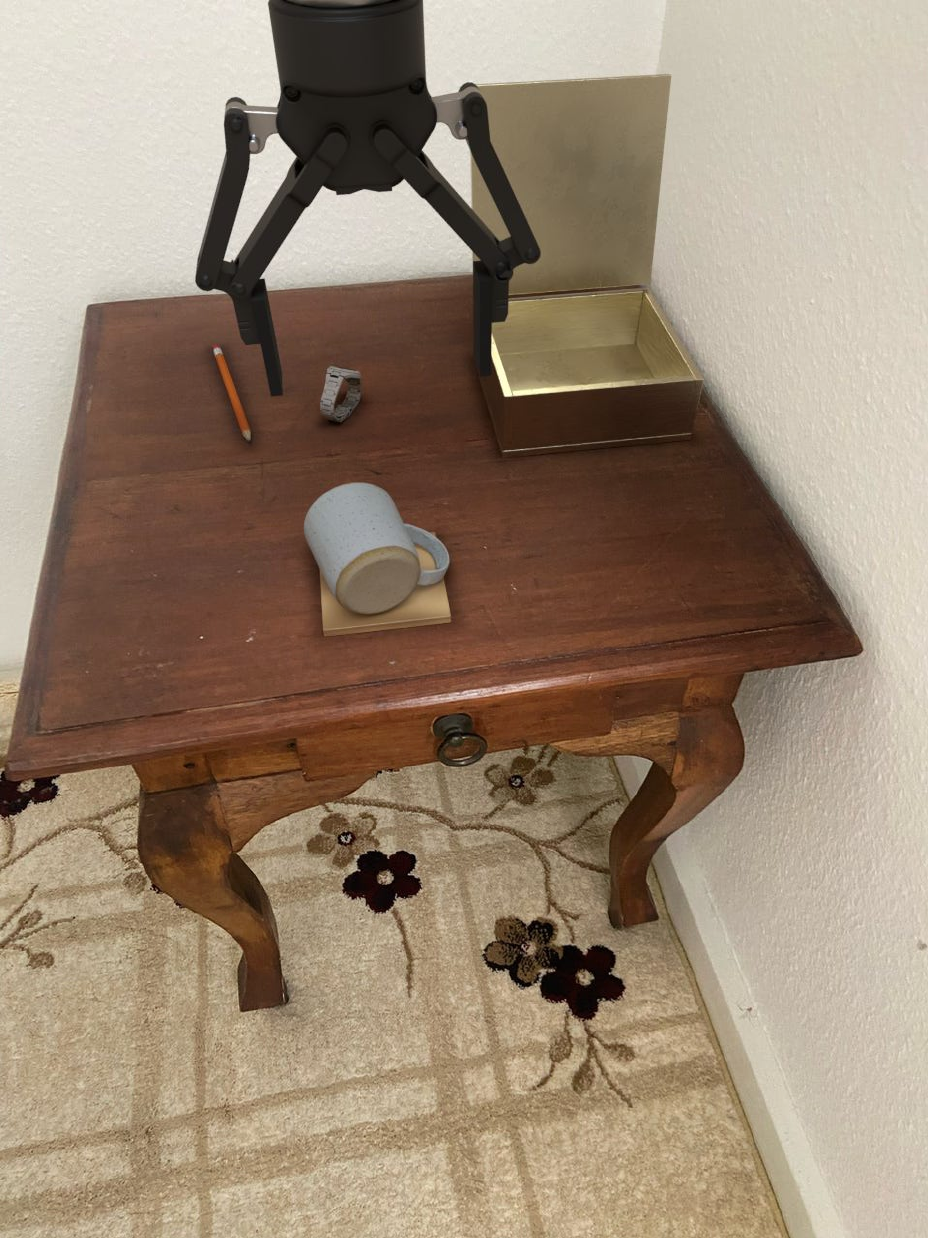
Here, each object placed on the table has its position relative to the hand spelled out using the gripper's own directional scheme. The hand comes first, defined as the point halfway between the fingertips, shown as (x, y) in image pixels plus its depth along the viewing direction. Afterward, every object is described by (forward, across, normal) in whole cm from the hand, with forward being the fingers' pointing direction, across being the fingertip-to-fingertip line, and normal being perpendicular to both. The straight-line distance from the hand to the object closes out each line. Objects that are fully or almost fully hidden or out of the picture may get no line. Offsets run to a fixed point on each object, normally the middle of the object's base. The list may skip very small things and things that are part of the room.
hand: (380, 375), depth 58 cm
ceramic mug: (+19, +1, 0) cm, 19 cm away
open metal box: (+19, -21, -24) cm, 37 cm away
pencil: (+19, +14, -30) cm, 38 cm away
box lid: (+3, -21, -34) cm, 40 cm away
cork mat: (+19, +1, 0) cm, 19 cm away
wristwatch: (+19, +3, -25) cm, 32 cm away
